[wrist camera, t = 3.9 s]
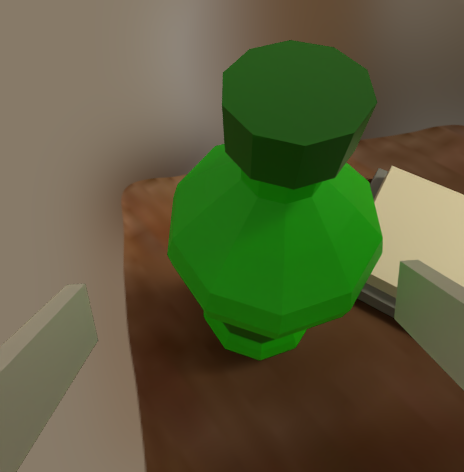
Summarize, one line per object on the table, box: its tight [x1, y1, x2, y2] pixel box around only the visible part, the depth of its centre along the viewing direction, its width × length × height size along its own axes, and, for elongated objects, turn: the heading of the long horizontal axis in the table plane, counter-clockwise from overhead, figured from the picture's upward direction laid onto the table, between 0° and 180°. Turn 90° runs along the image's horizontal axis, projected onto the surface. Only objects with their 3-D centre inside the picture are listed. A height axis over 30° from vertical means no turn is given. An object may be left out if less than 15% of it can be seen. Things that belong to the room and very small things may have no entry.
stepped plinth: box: [357, 166, 464, 318], centre depth 31 cm, size 15×15×4 cm
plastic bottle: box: [167, 40, 383, 361], centre depth 20 cm, size 10×10×25 cm
